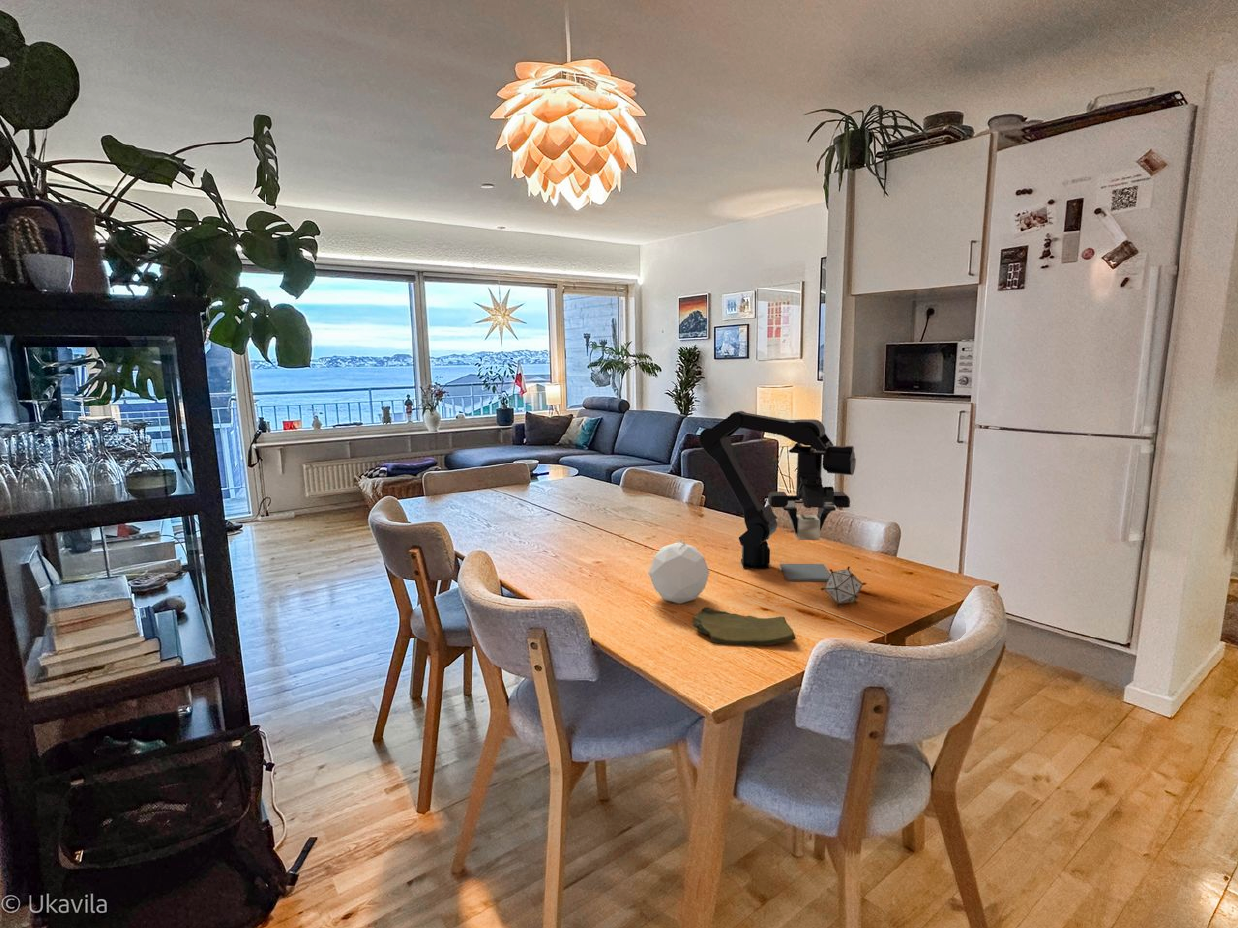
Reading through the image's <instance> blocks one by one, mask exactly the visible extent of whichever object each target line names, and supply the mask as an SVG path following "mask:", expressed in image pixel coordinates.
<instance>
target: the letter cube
mask: <svg viewBox="0 0 1238 928" xmlns="http://www.w3.org/2000/svg"><path fill="white" fill-rule="evenodd" d="M797 527H798V529H797V534H796V533H795V532H794V535H795V537H796V538H797V540H798V541H820V539H821V538H820V537H821V536H820V533H821V531H820V519H819V518H818V517H817V515H816V514H797Z"/></svg>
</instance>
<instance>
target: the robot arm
mask: <svg viewBox="0 0 1238 928" xmlns="http://www.w3.org/2000/svg"><path fill="white" fill-rule="evenodd" d="M739 429H745V430H751V431H756V432H761V433H767V434H770V435H771V434H772V435H777V436H781V437H784V438H786V439H789V440H790V441H793V442H795V444H794V446H792V447H791V448H790V449H789V450H788V453H790V454H797V463H796V465H797V466H796V469H797V470H796V488H795V493H796V495H793V494H791V495H788V494H787V493H786V492H785V491H770V492H769V493H768V495H767V503H768V505H766V506H765V505H763V504H762V503H761V502H760V501H759V500H758V497H757V496H756V494H755V492H754V490H753V489H752V486H751V484H750V482H749V481H748V480H747V479H748V478H747V477H746V476H745V474H744V472H743V470H742V468H741V467H740V465H739V463H738V461H737V460H736V457H735V456H734V453H733V452H734V451H733V446H732V440H731V436H733V435H734V434H735V433H737V432H738V430H739ZM698 442H699V445H700V447H702V449H703V450H704V452H705V453H706V455H708V456H709V457H710V458H711V459H712V460H713V461H714V462H716V463H717V465H718V466H719V469H720V470H721V472H722V475H723V476H724V478H725V480H726V481H727V483H728V486H729V487H730V489H731V490H732V492H733V494H734V495H735V498H736V500H737V501H738V503H739V505H740V507H741V510H742V512H743V520H744V524H745V527H746V531H745V532H744V533H742V534H741V535H740V536H738V540H739V543H740V546H741V558H740V562H741V565H742V568H743V569H760V570H761V569H763V570H764V569H765V570H766V569H769V568H770V567H769V565H770V563H771V562H770V561H771V559H770V558H771V549H770V547H769V545H768V541H767V540H769V539H770V537H771V536H772V535H773V534H775V532H776V530H777V527H778V521H777V519H778V517H777V515H776V514H775V513H774V512H773V509H772V508H782V509H783V510H784V511H787V514H788V515H789V519H790V521H791V525H792V528H793V531H794V534H795V533H796V534H797V529H798V527H797V515H798V514H797V513H798V509H797V507H796V504H802V505H803V506H804V508H806V509H812V508H817V515H816V516H817V517H818V518H819V519H820V532H821V531H822V528H823V526H824V524H825V520H826V519H827V517H828V516H829V514H830V513H831V512H835V511H836V510H837V508H840V509H841V508H844V509H845V508H847V509H848V508H850V507H851V499H850V497H849V495H847V494H846V493H845V492H844V491H835V489H834V487H833V486H823V478H822V471H823V470H822V468H823V469H824V471H826V472H827V474H836V475H848V476H849V475H850V476H853V475H854V474H855V470H856V463H857V462H856V461H857V460H856V459H857V458H856V454H855V451H854V450H855V447H854V446H853V445H846V446H843V445H841V446H840V445H834V443H833V442H832V441H831V439H830V438H829V436H828V435H827V434H826V428H825V425H824V424H823V423H822V421H820V420H818V419H813V418H812V419H809V418H808V419H802V418H801V419H784V418H779V417H772V416H766V415H762V414H756V413H750V412H746V411H744V410H738V411H734V412H732V413H730V415H728V416H727V417H726V418H725V419H722V420H721V421H720V422H719V423H716V425H714V426H712V427H711V426H710V427H707V428H705V429H703V430H702V431H701V432H700V434H699V437H698Z"/></svg>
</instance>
